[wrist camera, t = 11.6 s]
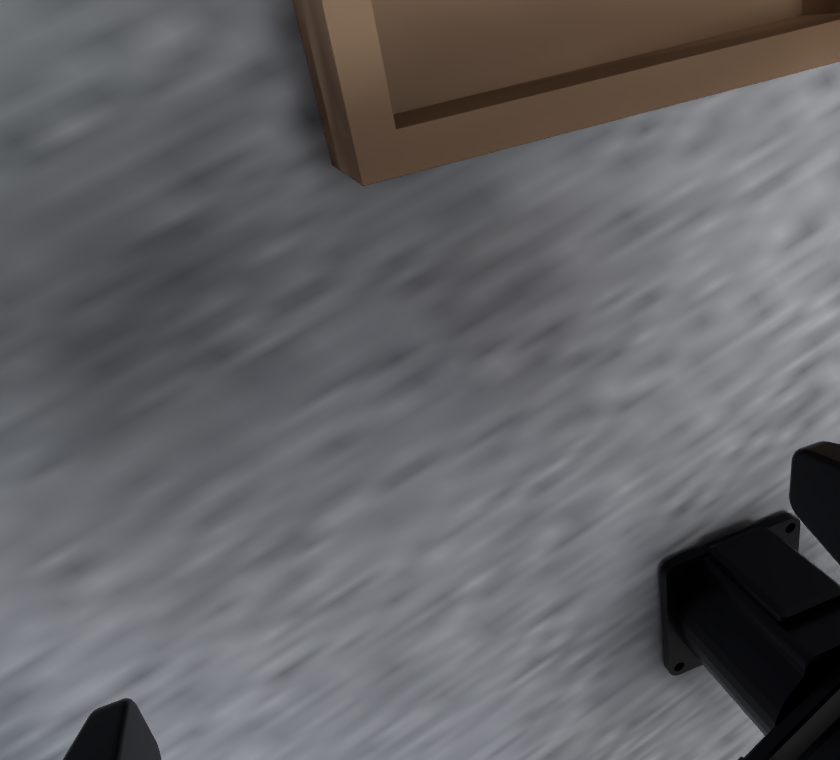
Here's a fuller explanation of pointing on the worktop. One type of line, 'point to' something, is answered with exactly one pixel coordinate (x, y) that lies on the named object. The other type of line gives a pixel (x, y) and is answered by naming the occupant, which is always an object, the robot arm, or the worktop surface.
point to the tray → (532, 68)
